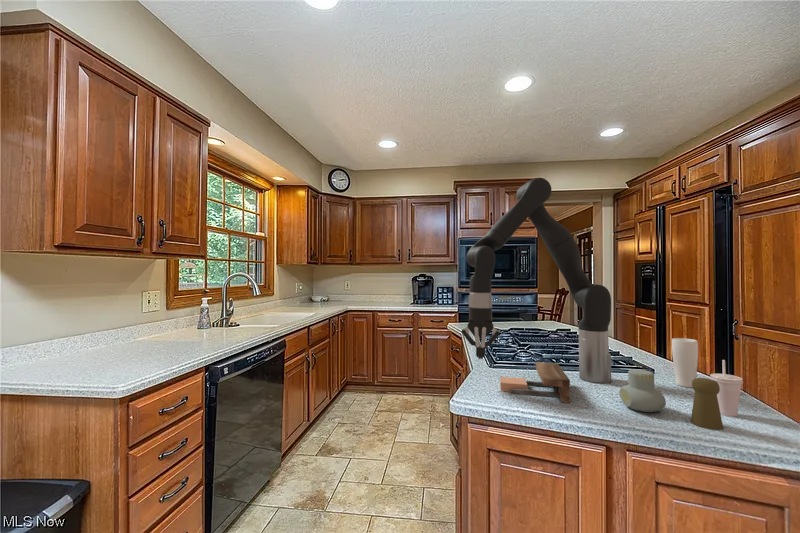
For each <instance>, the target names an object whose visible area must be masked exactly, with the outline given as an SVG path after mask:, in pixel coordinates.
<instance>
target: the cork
mask: <svg viewBox="0 0 800 533" xmlns="http://www.w3.org/2000/svg"><path fill="white" fill-rule="evenodd" d="M692 389H693V391H694V393H693V394H694V396H693V403H692V409H691V417H690V423H692V425H694V426H697V427H699V428H703V429H707V430H712V431H713V430H715V431H721V430H723V429H724V425H723V420H722V414H720V409H719V403H718V398H717V394H718V393H719V391H720V387H719V384H718V383H717V382H716V381H714V380H712V379H710V378H705V377H696V378H695V379H693V381H692Z"/></svg>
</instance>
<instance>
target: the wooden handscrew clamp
mask: <svg viewBox="0 0 800 533" xmlns="http://www.w3.org/2000/svg"><path fill="white" fill-rule="evenodd" d="M535 369H536V372H537V374H538V376H539V378H540V381H534V380H533V381H531V380H526V382H527V386H531V387H545V388H553V390H554V391H550V390H537V389H527V390H524V389H511V392H510V394H515V395H525V396H528V395H529V396H539V395H541V396H542V397H553V396H555V397H557V398H560V400H561V402H562V403H563V402H564V404H565V403H566V404H571V380H570V378H569V377H568V376H567V374H566V373H565V371H564V370H563V369H562V368H561V366H560V365H559V363H557V362H556V363H555V362H540V361H539V362H537V361H536V362H535ZM541 396H540V397H541Z"/></svg>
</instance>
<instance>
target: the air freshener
mask: <svg viewBox="0 0 800 533" xmlns="http://www.w3.org/2000/svg"><path fill="white" fill-rule="evenodd" d="M627 372H628V375H627V376H628V379H627V380H628V382H627V383H628V384H625V385H624V386H622V387H620V388H619V391H618V392H619V398H620V400H621V402H622V404H624V405H625V406H627V407H628V408H629V409H630V410H634V411H637V412H644V413H656V412H659V411H661V410H663V409H664V408H665V407H666V406H667V401H666V398H665V396H664V395H663V393H662V392H661V391H660V390H659V389H657V388H656V387H655V386H656V385H655V374H654V372H652V371H649V370H645V369H639V368H638V369H629V370H628V371H627Z"/></svg>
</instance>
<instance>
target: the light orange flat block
mask: <svg viewBox="0 0 800 533" xmlns="http://www.w3.org/2000/svg"><path fill="white" fill-rule="evenodd" d="M526 381H527V380H526V378H525V377H524V378H523V377H509V376H500V377H499V383H500V384H499V386H500V392H510V393H511V389H524V390H528V385H527V382H526Z"/></svg>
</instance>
